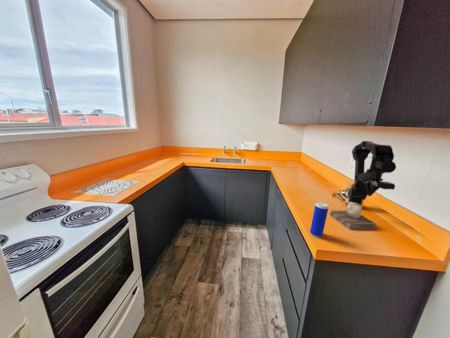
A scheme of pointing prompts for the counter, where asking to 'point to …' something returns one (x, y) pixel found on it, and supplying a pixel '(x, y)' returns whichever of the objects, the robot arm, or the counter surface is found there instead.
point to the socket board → (352, 221)
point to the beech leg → (353, 210)
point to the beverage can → (319, 219)
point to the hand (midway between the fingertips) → (369, 195)
